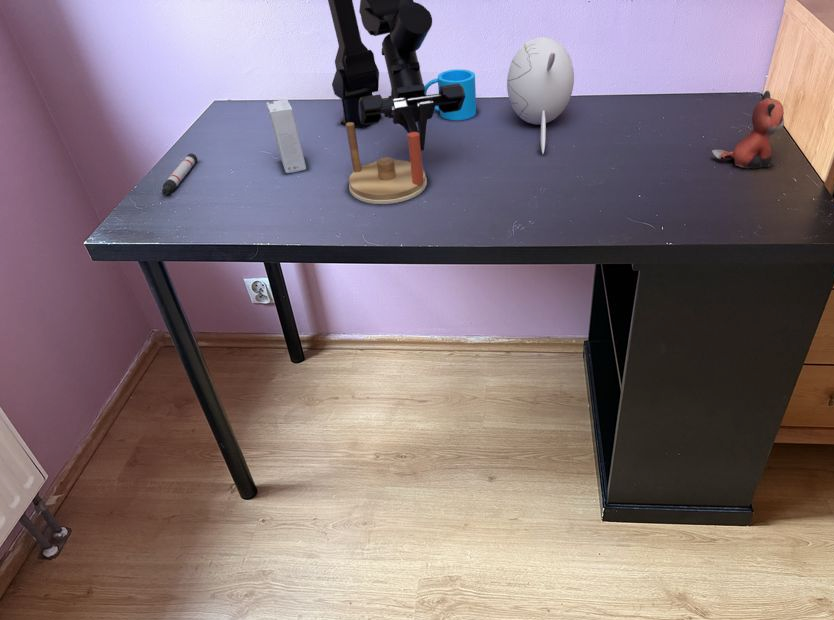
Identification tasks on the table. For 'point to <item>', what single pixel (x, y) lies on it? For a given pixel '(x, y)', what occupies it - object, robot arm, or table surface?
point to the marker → (179, 174)
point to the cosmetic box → (286, 135)
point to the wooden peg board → (386, 171)
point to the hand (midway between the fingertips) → (421, 149)
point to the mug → (468, 83)
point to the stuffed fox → (757, 136)
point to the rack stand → (389, 201)
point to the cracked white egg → (540, 82)
